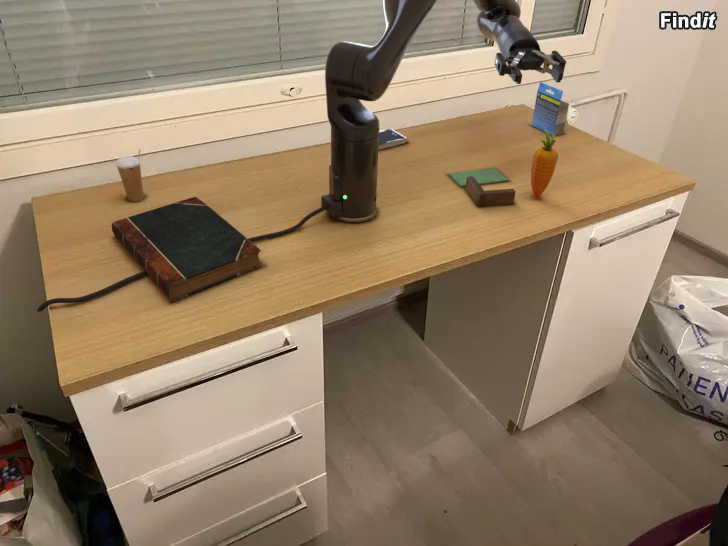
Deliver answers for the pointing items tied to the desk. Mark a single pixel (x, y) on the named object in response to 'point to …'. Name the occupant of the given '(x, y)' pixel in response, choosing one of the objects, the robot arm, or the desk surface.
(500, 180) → the rag
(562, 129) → the label tape box
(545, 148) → the carrot
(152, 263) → the book
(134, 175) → the milkshake
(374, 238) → the desk surface
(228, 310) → the desk surface
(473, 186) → the corner stop
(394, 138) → the smartphone
